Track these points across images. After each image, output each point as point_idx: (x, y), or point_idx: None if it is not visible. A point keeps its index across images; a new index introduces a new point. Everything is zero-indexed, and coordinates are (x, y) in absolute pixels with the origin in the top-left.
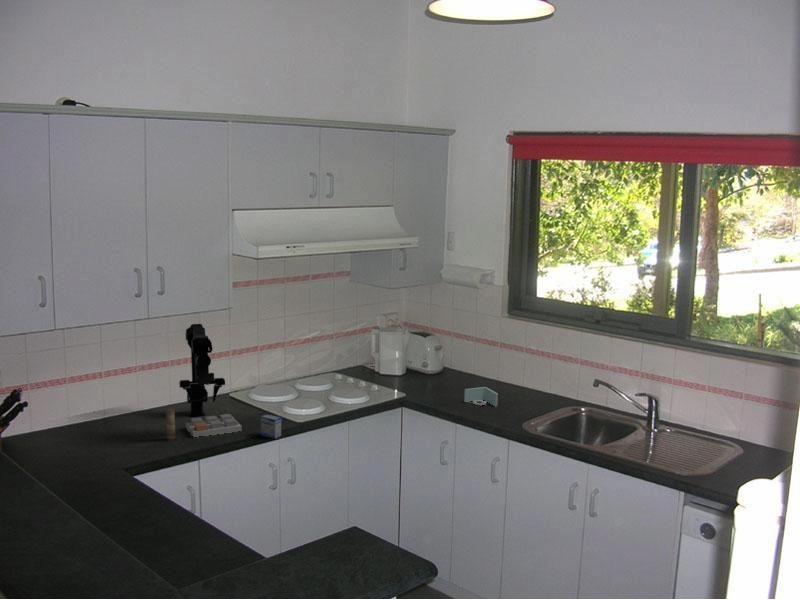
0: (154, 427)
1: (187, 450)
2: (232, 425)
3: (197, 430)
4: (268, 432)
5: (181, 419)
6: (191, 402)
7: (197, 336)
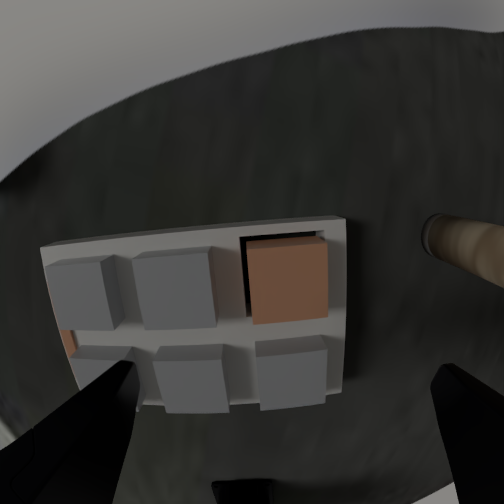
0: None
1: (385, 47)
2: (79, 258)
3: (316, 238)
4: None
5: (317, 466)
6: (459, 370)
7: None
